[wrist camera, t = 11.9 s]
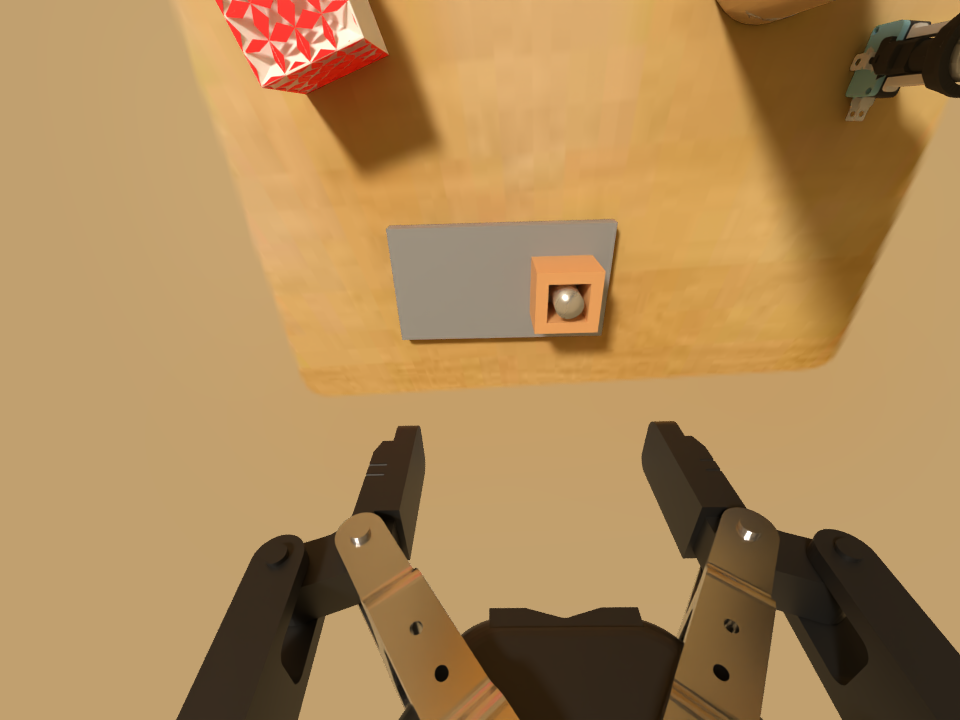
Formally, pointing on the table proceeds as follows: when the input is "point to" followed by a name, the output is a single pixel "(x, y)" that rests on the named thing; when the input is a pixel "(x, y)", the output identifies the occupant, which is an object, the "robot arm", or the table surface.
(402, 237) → the base plate
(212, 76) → the table surface
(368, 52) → the red white patterned cube
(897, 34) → the push button
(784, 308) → the table surface
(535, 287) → the collar
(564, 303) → the steel post
